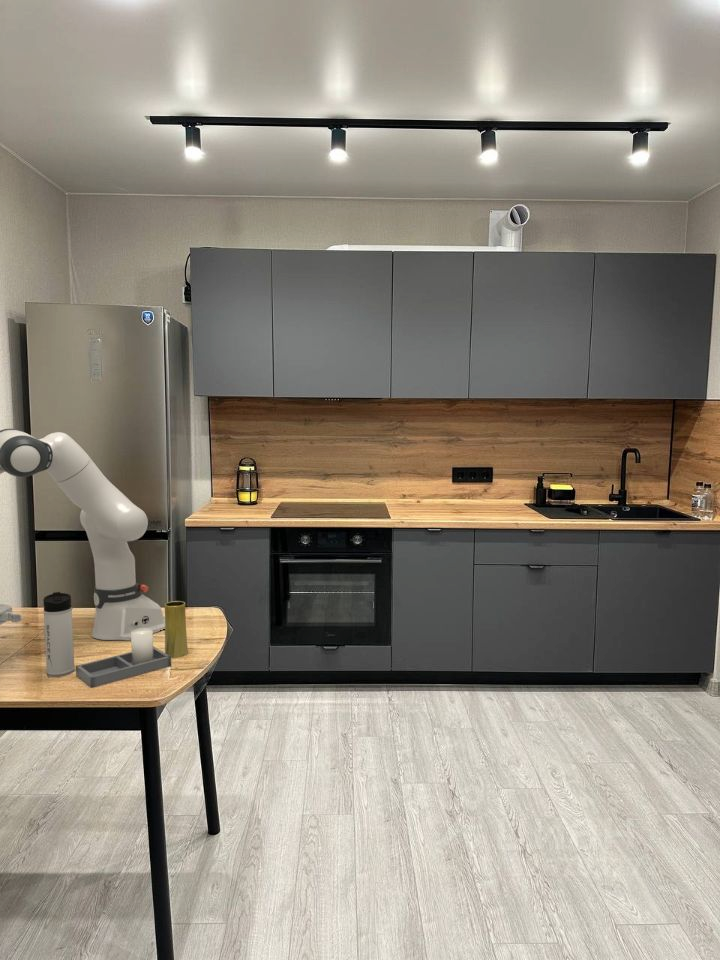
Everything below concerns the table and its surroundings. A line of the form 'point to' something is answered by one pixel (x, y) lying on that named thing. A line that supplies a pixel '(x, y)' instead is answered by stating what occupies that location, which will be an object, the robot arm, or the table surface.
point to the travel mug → (58, 634)
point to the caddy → (119, 668)
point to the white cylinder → (142, 645)
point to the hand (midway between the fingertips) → (9, 623)
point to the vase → (175, 629)
